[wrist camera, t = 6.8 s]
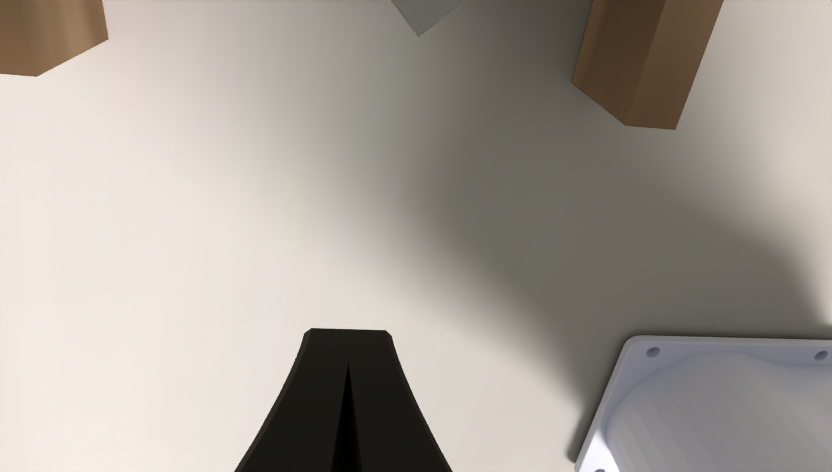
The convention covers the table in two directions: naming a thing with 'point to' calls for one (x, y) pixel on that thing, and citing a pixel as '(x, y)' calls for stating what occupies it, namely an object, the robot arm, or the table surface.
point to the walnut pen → (594, 74)
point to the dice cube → (424, 12)
